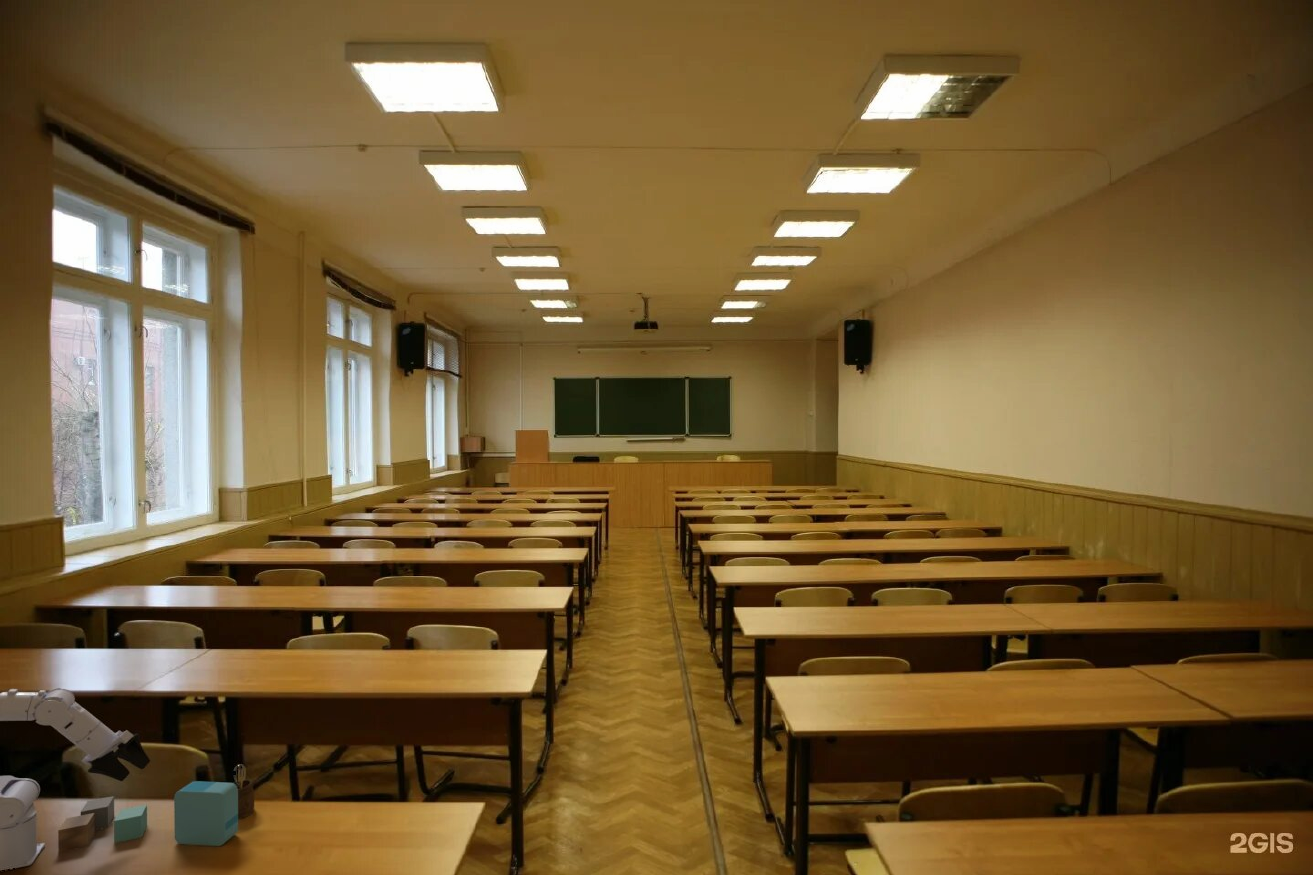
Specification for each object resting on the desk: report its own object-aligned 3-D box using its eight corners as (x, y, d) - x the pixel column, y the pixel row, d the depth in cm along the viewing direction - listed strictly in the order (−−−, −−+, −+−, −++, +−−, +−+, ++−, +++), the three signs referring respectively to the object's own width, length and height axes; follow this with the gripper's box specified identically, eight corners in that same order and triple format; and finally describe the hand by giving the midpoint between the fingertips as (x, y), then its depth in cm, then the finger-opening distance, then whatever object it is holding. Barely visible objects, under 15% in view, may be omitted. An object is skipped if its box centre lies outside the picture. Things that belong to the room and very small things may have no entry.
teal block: (114, 843, 151) (113, 820, 151) (120, 831, 156) (120, 809, 156) (141, 837, 154) (141, 815, 153) (147, 825, 158) (146, 804, 158)
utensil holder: (251, 803, 167) (251, 755, 167) (256, 814, 162) (256, 765, 162) (223, 812, 163) (223, 763, 163) (228, 823, 159) (227, 773, 158)
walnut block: (58, 852, 148) (58, 830, 148) (66, 840, 152) (66, 818, 152) (87, 846, 150) (87, 824, 150) (94, 834, 155) (94, 812, 155)
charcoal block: (80, 833, 155) (80, 811, 155) (87, 821, 160) (87, 800, 160) (108, 827, 157) (107, 806, 157) (114, 816, 162) (114, 795, 162)
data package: (238, 834, 154) (238, 782, 154) (224, 846, 150) (224, 793, 150) (189, 832, 155) (189, 780, 155) (174, 844, 151) (173, 790, 151)
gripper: (121, 706, 152) (168, 745, 156) (83, 730, 156) (130, 767, 160) (96, 731, 146) (145, 770, 150) (57, 756, 150) (106, 793, 154)
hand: (136, 771), depth 155 cm, fingers open, 7 cm apart
